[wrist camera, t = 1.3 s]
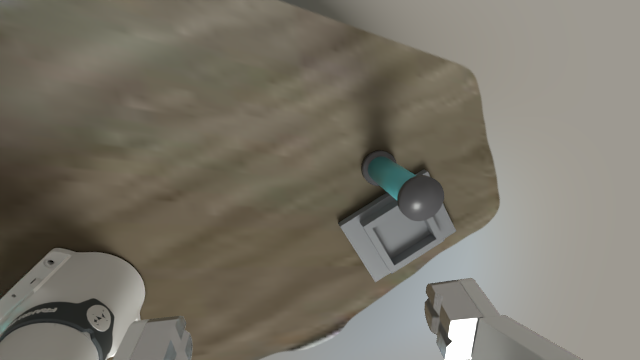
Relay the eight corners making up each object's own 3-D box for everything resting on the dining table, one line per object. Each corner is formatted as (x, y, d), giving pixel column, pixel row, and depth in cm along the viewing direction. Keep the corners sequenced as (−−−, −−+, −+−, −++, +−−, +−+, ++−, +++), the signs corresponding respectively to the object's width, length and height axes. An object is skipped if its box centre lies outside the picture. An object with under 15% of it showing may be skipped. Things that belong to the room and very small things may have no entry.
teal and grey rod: (371, 190, 59) (412, 229, 44) (355, 162, 57) (392, 193, 42) (399, 172, 59) (450, 205, 44) (385, 143, 57) (433, 168, 42)
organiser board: (372, 277, 65) (379, 288, 61) (338, 223, 60) (343, 231, 56) (451, 227, 65) (462, 235, 62) (423, 169, 60) (433, 174, 57)
